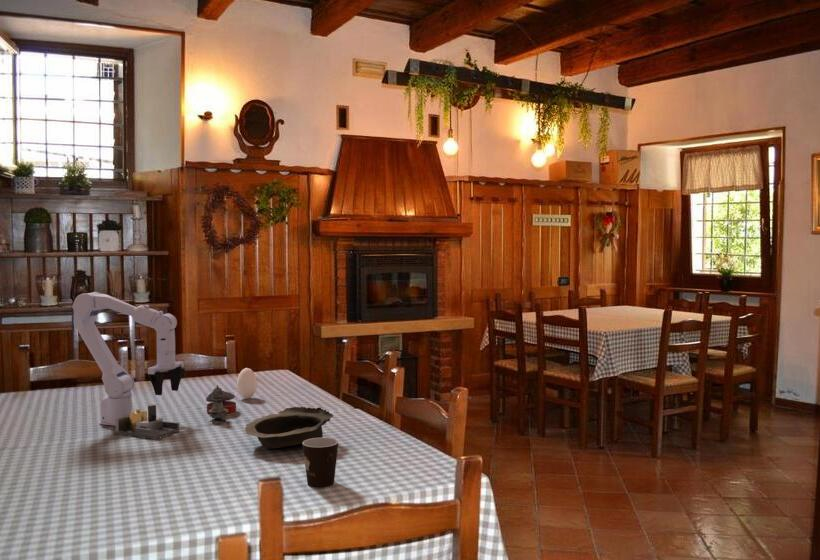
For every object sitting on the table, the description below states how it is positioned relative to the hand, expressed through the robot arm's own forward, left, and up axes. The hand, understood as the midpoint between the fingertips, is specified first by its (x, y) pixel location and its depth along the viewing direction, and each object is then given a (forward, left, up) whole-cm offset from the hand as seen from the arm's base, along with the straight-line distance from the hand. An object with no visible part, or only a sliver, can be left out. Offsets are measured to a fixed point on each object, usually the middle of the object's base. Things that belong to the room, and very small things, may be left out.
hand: (166, 392), depth 229 cm
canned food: (+7, +19, -10) cm, 23 cm away
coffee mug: (+77, -35, -10) cm, 85 cm away
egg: (+2, +41, -10) cm, 42 cm away
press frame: (+2, -12, -10) cm, 16 cm away
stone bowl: (+51, -8, -10) cm, 53 cm away
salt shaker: (+14, +8, -10) cm, 19 cm away
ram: (+4, -12, -9) cm, 15 cm away
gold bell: (-1, -12, -9) cm, 15 cm away
